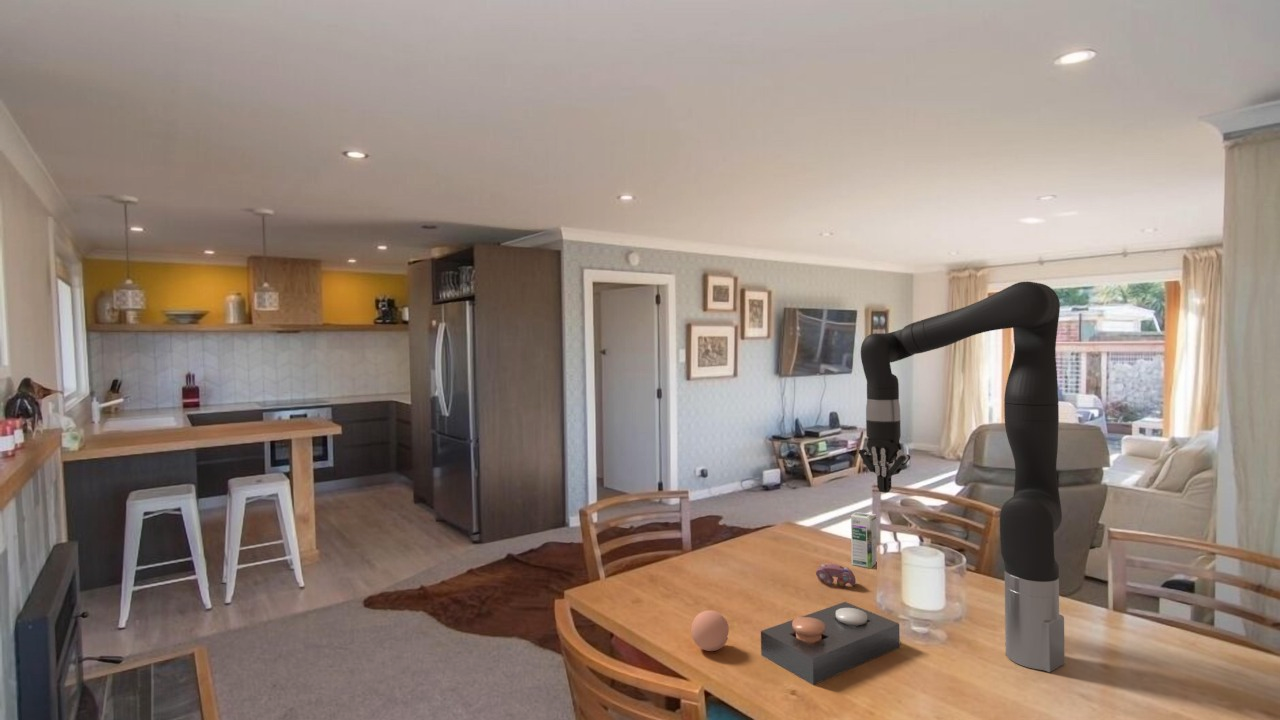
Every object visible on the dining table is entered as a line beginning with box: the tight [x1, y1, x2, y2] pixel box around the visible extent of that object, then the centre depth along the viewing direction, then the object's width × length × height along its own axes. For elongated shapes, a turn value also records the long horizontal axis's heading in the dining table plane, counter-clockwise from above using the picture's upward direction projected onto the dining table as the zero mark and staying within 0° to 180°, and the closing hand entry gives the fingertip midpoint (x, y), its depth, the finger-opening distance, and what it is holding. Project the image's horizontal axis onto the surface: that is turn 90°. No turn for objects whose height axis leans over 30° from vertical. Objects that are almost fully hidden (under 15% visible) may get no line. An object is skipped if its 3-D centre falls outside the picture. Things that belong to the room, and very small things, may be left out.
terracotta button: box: [792, 616, 825, 644], centre depth 127 cm, size 6×6×6 cm
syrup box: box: [850, 511, 878, 569], centre depth 182 cm, size 6×6×14 cm
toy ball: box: [690, 609, 730, 652], centre depth 132 cm, size 8×8×8 cm
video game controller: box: [815, 563, 857, 588], centre depth 166 cm, size 10×5×7 cm, turn 63°
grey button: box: [836, 608, 867, 628], centre depth 134 cm, size 6×6×6 cm
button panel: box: [760, 601, 901, 686], centre depth 130 cm, size 14×26×5 cm, turn 122°
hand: (884, 491), depth 147 cm, fingers closed
